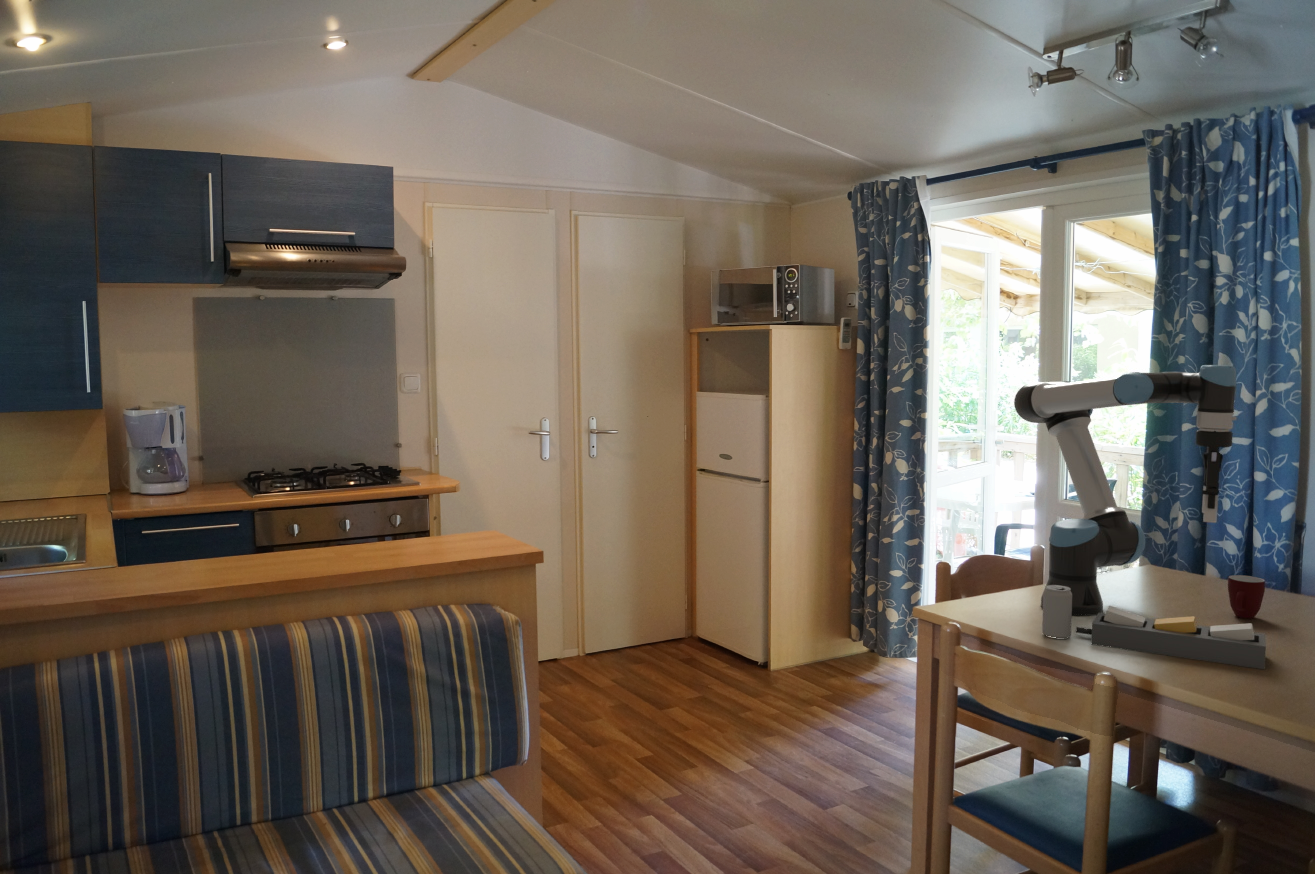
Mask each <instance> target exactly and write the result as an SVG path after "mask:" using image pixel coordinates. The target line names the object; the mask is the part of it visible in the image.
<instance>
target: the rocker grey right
mask: <svg viewBox="0 0 1315 874" xmlns="http://www.w3.org/2000/svg"><path fill="white" fill-rule="evenodd" d="M1210 627H1211V628H1210V634H1211V636H1212V637H1220V638H1227V639H1235V640H1254V632H1255V631H1254V627H1253V623H1249V622H1248V623H1239V624H1238V623H1234V624H1223V625H1222V624H1221V625H1219V624H1218V625H1210Z"/></svg>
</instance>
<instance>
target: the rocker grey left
mask: <svg viewBox="0 0 1315 874" xmlns="http://www.w3.org/2000/svg"><path fill="white" fill-rule="evenodd" d="M1105 613H1106V614H1105V617H1104V620H1105V621H1108V622H1111V623H1114V624H1122V625H1129V626H1137V627H1143V625H1144V622H1145V618H1146V617H1145V616H1142V615H1138V614H1136V613H1133V612H1129V611H1127V610H1123V609H1121V608H1117V607H1115V606H1111V605H1108V607H1107V609H1106V611H1105Z"/></svg>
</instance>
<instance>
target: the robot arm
mask: <svg viewBox="0 0 1315 874" xmlns="http://www.w3.org/2000/svg"><path fill="white" fill-rule="evenodd" d="M1237 383H1238V382H1237V369H1236V367H1235V366H1234V365H1230V364H1229V365H1227V364H1226V365H1224V364H1223V365H1222V364H1221V365H1220V364H1204V365H1201V366H1200V369H1199V372H1186V371H1185V372H1184V371H1162V372H1138V371H1136V372H1135V371H1133V372H1126V373H1123V374H1121V375H1116V376H1115V375H1114V376H1108V377H1101V378H1094V379H1088V380H1082V381H1075V382H1074V381H1068V380H1062V381H1049V382H1048V381H1043V382H1042V381H1035V382H1029V383H1027V384H1025V385H1023V386H1022V387H1020V388H1019V389H1018V390H1017V392H1016V394H1015V396H1014V401H1013V403H1014V404H1013V405H1014V408H1015V411H1016V413H1017V415H1018V416H1019V417H1020V418H1021V419H1023V420H1024V421H1026V422H1029V423H1033V424H1034V423H1035V424H1045V425H1046V426H1045V427H1046V428H1047V431H1048V434H1049V435H1051V436H1054V437H1056V441H1057V443H1058V446H1059V448H1060V451H1061V454H1062V456H1063V457H1062V458H1063V459H1064V463H1065V465H1066V467H1067V471H1068V474H1069V476H1070V479H1071V481H1072V484H1073V486H1074V487H1073V488H1074V490H1075V493H1076V497H1077V498H1078V501H1079V504H1080V506H1081V509H1082V513H1083V517H1082V518H1075V519H1074V518H1068V519H1063V520H1058V521H1057V522H1054V523H1052V526H1051V527H1050V534H1049V538H1048V541H1049V553H1048V554H1049V555H1048V556H1049V558H1048V559H1049V561H1048V564H1049V565H1048V578H1047V581H1046V584H1045V586H1048V585H1060V586H1066V587H1069V588H1070V589H1071V590H1070V591H1071V593H1072V616H1097V614H1098V612H1099V613H1104V612H1103V611H1104V602H1103V599H1102V596H1101V593H1100V589H1099V586H1098V582H1097V580H1098V579H1097V575H1098V568H1105V567H1114V566H1115V567H1116V566H1117V567H1122V566H1124V565H1129V564H1132V563H1134V562H1136V561H1138V560H1139V559H1140V558H1141V556H1142V555H1143V551H1144V550H1145V547H1146V536H1145V533H1144V532H1145V531H1144V530H1143V529H1142V527H1141V526H1140V525H1139V523H1138V524H1137V523H1136V522H1135V521H1133V520H1129V517H1128V515H1127V512H1126V510H1125V509H1123V508H1120V507H1118V505H1117V503H1116V500H1115V497H1114V495H1113V491H1112V488H1111V487H1110V484H1109V481H1108V478H1107V476H1106V473H1105V470H1104V468H1103V465H1102V462H1101V459H1100V457H1099V454H1098V451H1097V449H1096V446H1095V443H1094V441H1093V438H1092V436H1091V433H1090V430H1089V426H1090V423H1091V422H1092V418H1091V416H1092V414H1093V411H1094V410H1096V409H1105V408H1113V407H1121V406H1122V407H1123V406H1134V405H1143V404H1169V403H1170V404H1171V403H1174V404H1175V403H1176V404H1177V403H1179V404H1180V403H1181V404H1182V403H1183V404H1197V412H1196V423H1195V424H1196V426H1195V427H1196V428H1198V429H1197V430H1196V432H1195V445H1197V446H1199V447H1206V448H1205V452H1203V455H1202V460H1203V468H1204V469H1203V470H1204V476H1203V488H1202V490H1201V492H1202V493H1201V494H1202V505H1201V513H1202V514H1203V515H1202V516H1203V517H1202V518H1203V519H1202V520H1203V521H1202V522H1203V523H1215V524H1216V523H1217V522H1218V509H1219V508H1218V506H1219V493H1220V489H1219V488H1220V472H1221V471H1222V463H1223V460H1224V459H1223V458H1224V455H1223V453H1221V452H1220V448H1230V447H1232V445H1233V435H1234V434H1233V432H1232V431H1231V430H1232V429H1233V428H1234V421H1237V416H1234V412H1235V410H1234V409H1235V401H1236V400H1235V398H1236V390H1237V385H1238V384H1237ZM1093 409H1094V410H1093ZM1044 590H1045V588H1044V589H1043V591H1044ZM1041 605H1042V606H1041ZM1040 606H1041V608H1043V593H1042V595H1041V597H1040Z"/></svg>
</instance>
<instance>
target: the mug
mask: <svg viewBox="0 0 1315 874" xmlns="http://www.w3.org/2000/svg"><path fill="white" fill-rule="evenodd" d="M1265 589H1266V580H1265V579H1264V578H1260V577H1256V576H1250V575H1245V574H1244V575H1243V574H1240V575H1239V574H1238V575H1237V574H1234V575H1229V576H1228V577H1227V591H1228V597H1229V605H1230V607H1231V610H1232V612H1233V614H1234V615H1235V617H1237V618H1239V619H1243V620H1245V619H1246V620H1252V619H1255V617H1256V616H1257V615H1258V613H1259V611H1260V610H1261V607H1262V603H1263V599H1264V595H1265Z"/></svg>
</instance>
